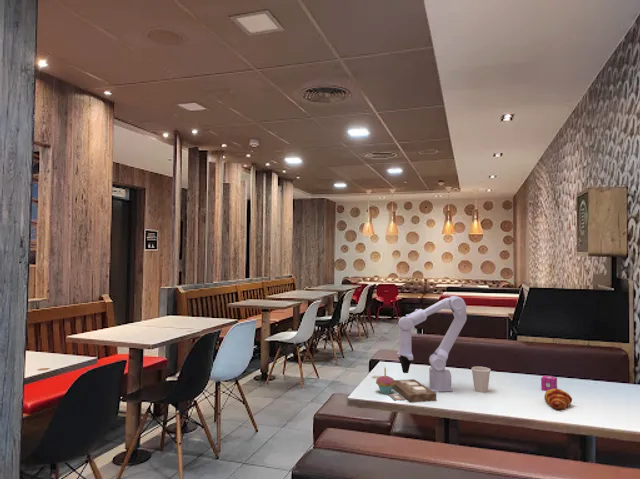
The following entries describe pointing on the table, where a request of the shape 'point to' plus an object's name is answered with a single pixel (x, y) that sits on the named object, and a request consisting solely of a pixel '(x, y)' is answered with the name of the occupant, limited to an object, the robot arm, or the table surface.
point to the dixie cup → (481, 378)
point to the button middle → (411, 384)
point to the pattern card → (396, 397)
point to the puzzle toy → (548, 383)
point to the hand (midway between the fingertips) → (405, 372)
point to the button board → (411, 395)
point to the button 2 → (418, 390)
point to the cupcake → (385, 383)
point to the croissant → (557, 398)
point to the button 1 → (404, 381)
